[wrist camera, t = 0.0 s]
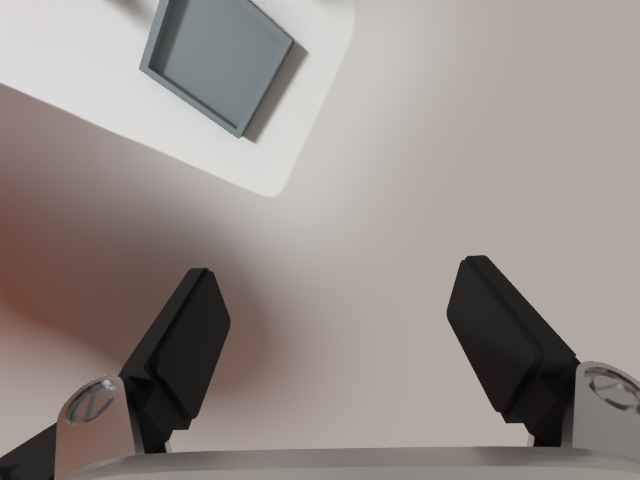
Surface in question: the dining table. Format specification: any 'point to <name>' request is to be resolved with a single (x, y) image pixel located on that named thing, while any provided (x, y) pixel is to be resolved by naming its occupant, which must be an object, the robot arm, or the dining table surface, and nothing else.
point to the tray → (215, 57)
